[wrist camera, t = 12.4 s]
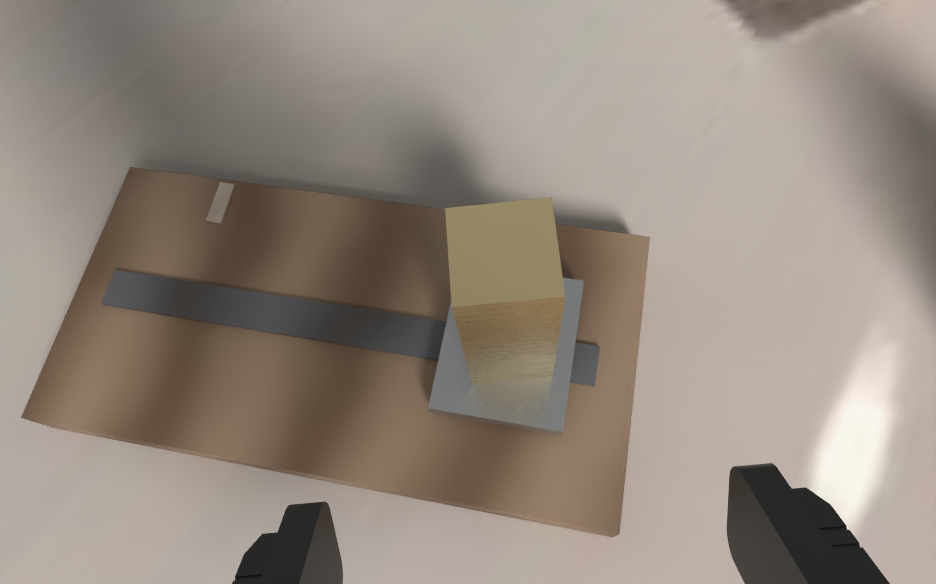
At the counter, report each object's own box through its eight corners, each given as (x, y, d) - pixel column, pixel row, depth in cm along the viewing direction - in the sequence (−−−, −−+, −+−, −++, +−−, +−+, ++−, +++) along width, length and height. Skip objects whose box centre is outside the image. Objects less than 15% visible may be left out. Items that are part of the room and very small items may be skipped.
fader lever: (430, 412, 26) (389, 339, 18) (460, 270, 28) (436, 147, 20) (561, 436, 25) (581, 370, 17) (582, 288, 27) (607, 168, 19)
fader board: (52, 427, 29) (17, 416, 27) (151, 189, 34) (128, 164, 32) (612, 537, 26) (620, 534, 24) (641, 257, 30) (650, 234, 28)
